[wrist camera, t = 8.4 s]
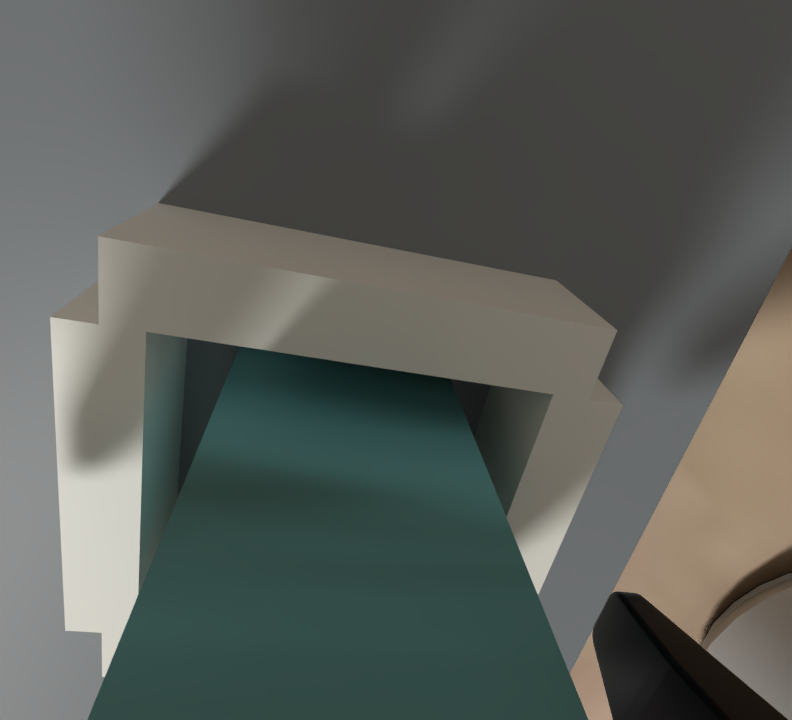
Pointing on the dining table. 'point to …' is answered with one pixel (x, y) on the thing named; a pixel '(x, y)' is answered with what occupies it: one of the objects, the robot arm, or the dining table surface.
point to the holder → (368, 262)
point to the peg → (337, 565)
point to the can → (759, 641)
